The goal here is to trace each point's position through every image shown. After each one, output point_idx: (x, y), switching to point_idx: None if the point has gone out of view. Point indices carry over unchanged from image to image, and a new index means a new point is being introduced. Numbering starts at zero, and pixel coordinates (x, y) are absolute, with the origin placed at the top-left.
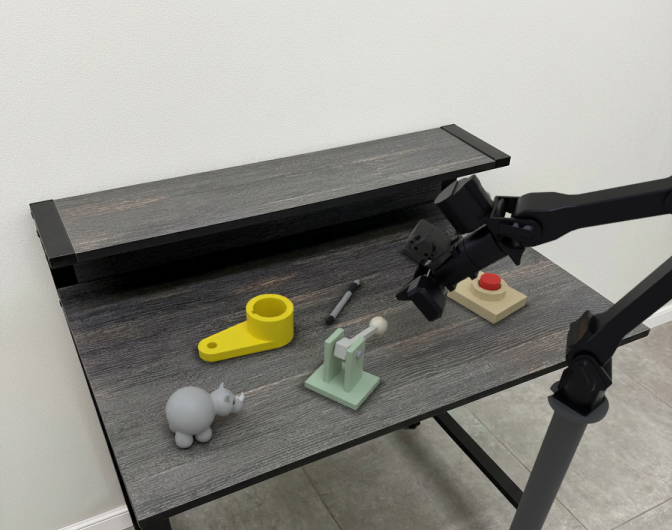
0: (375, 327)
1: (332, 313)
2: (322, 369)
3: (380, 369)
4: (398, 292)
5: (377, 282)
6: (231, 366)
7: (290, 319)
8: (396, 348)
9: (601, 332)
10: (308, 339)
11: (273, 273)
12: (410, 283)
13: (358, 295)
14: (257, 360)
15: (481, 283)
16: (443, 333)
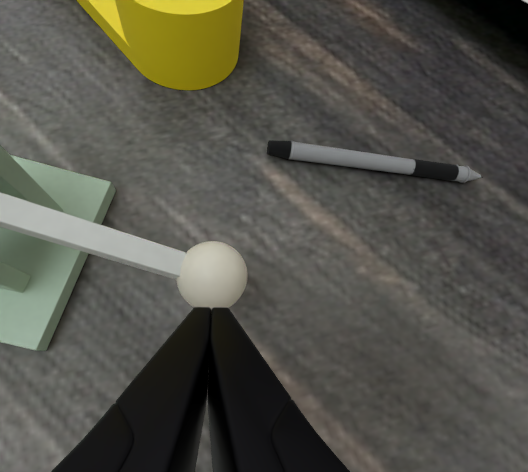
0: (167, 268)
1: (301, 145)
2: (43, 176)
3: (117, 335)
4: (206, 321)
5: (501, 225)
6: (43, 3)
7: (164, 29)
8: None
9: None
10: (193, 123)
11: (399, 10)
12: (114, 460)
13: (422, 193)
14: (77, 42)
15: None
16: None
